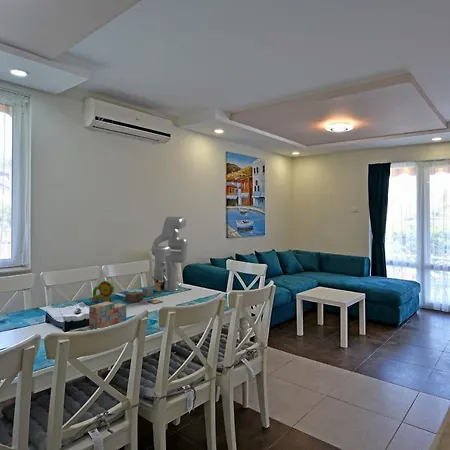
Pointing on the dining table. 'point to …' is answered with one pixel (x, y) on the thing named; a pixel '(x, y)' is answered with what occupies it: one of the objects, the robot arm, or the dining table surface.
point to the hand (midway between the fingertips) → (159, 288)
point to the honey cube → (157, 286)
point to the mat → (155, 301)
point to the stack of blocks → (106, 314)
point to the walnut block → (134, 296)
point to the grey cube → (147, 291)
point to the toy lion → (103, 292)
